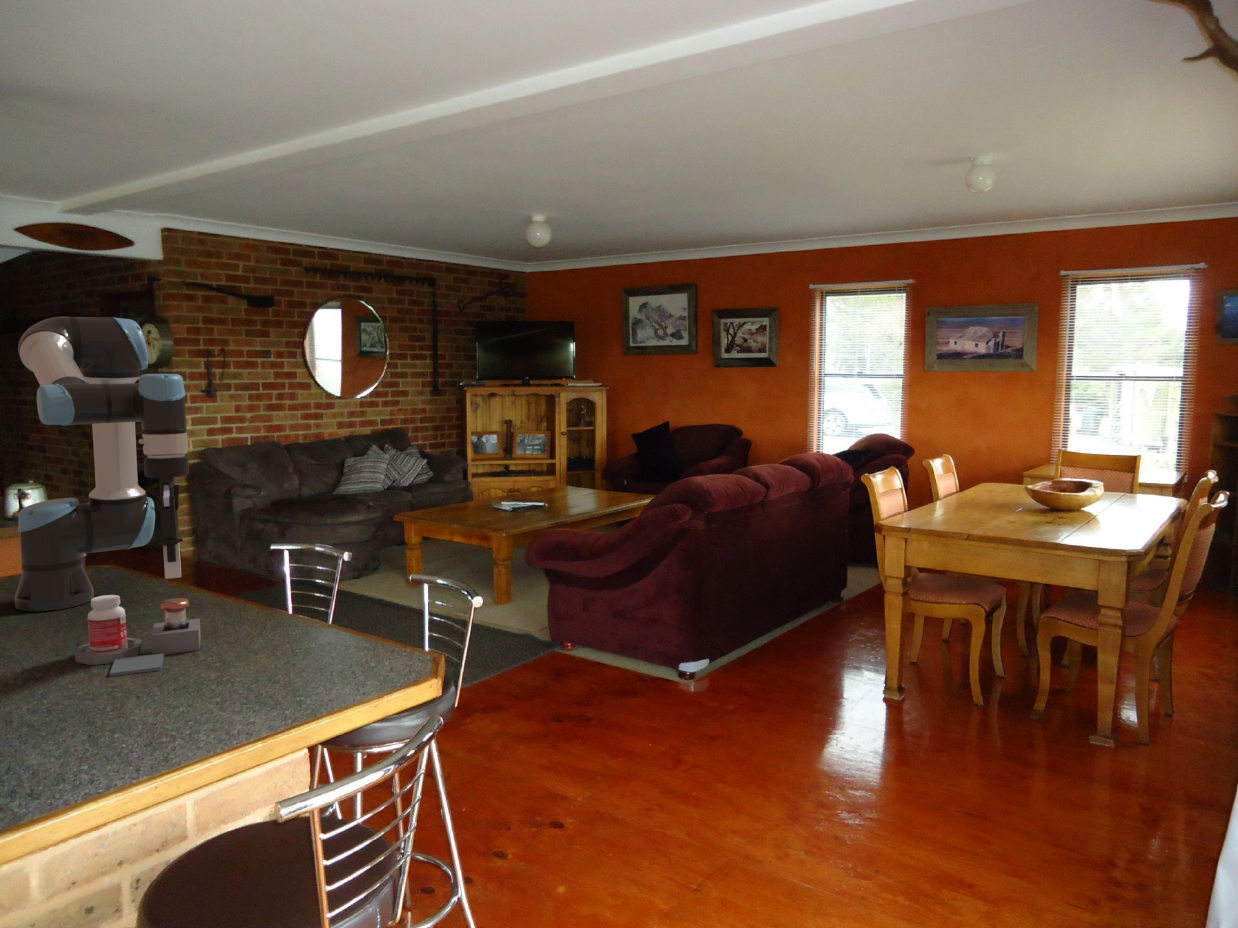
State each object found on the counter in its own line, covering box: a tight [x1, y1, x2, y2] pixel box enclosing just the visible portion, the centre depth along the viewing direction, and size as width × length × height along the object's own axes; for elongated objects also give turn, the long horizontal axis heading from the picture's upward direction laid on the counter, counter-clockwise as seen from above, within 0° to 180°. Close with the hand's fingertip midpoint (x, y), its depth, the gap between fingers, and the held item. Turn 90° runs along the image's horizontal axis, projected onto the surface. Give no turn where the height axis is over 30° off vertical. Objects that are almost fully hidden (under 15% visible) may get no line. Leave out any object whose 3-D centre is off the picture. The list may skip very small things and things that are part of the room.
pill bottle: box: [87, 594, 128, 655], centre depth 163 cm, size 6×6×11 cm
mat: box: [109, 653, 165, 677], centre depth 158 cm, size 8×8×1 cm
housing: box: [74, 618, 202, 666], centre depth 166 cm, size 10×21×4 cm, turn 114°
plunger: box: [160, 597, 190, 631], centre depth 168 cm, size 5×5×6 cm
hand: (173, 577), depth 167 cm, fingers closed
